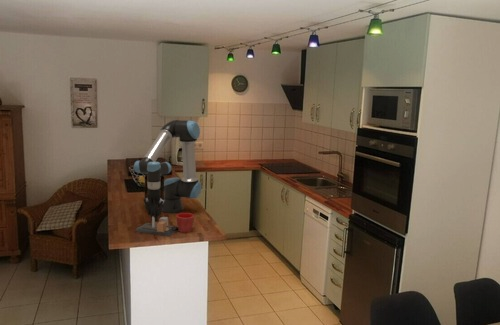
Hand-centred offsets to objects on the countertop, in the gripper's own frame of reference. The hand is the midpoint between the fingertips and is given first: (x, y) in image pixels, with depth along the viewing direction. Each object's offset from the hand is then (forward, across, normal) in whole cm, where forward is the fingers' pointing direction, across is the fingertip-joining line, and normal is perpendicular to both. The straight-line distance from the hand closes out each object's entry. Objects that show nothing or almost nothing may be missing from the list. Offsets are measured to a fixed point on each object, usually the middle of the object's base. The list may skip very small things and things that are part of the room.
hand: (154, 226), depth 250 cm
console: (+4, 0, +4) cm, 5 cm away
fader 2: (+2, +5, 0) cm, 5 cm away
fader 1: (+2, +2, +8) cm, 8 cm away
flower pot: (+4, +15, +11) cm, 19 cm away
